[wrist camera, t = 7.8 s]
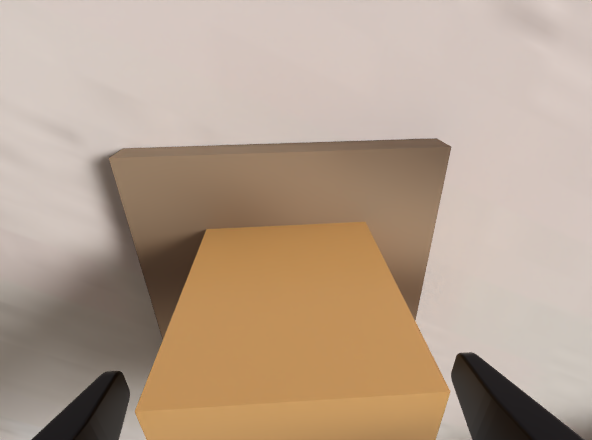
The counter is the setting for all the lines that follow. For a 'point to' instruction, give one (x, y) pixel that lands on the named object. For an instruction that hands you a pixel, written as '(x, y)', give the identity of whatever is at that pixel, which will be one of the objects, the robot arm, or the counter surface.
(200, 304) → the tan wooden cube
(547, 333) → the counter surface
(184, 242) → the walnut base
